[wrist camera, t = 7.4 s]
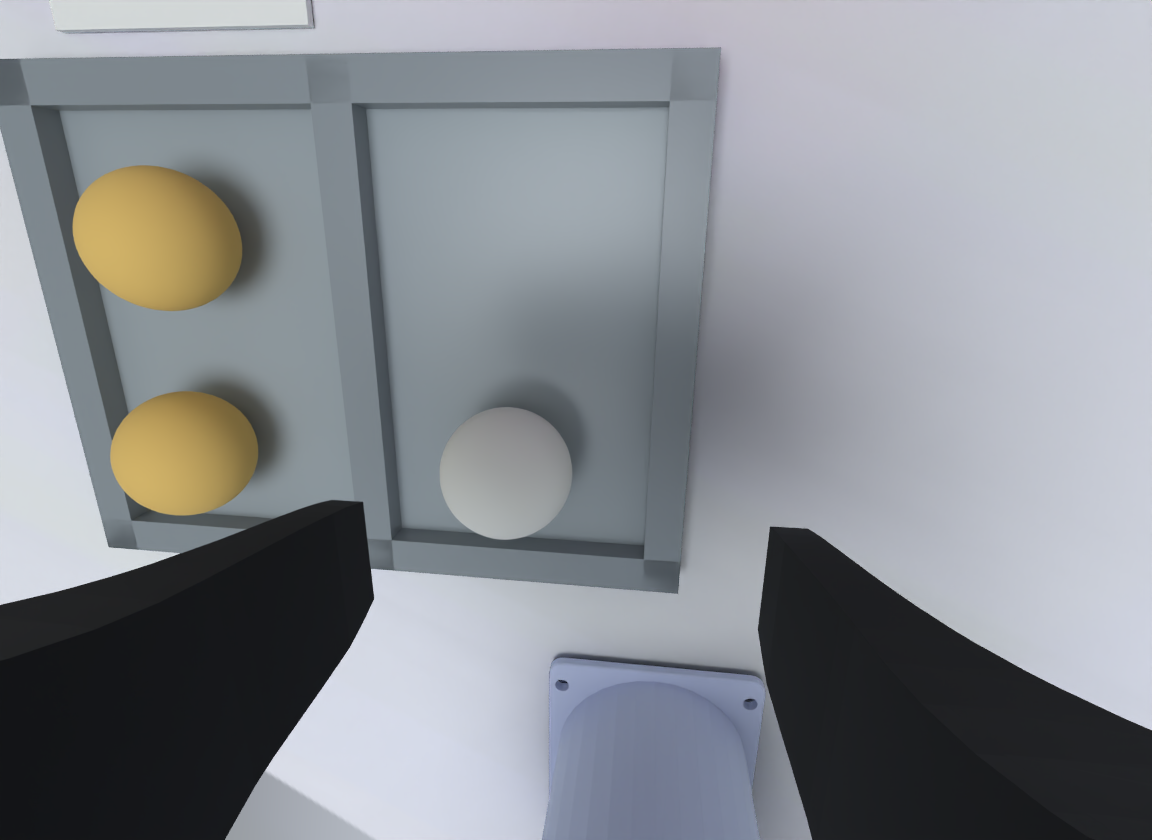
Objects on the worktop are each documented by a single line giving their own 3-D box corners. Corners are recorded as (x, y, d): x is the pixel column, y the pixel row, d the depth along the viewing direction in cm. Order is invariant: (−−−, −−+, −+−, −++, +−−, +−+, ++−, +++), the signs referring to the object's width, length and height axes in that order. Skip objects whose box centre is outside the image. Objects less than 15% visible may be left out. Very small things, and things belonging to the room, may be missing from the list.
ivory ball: (578, 506, 21) (562, 570, 17) (464, 499, 21) (424, 560, 17) (580, 394, 19) (563, 436, 16) (459, 389, 20) (414, 428, 16)
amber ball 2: (290, 487, 22) (213, 543, 18) (188, 480, 22) (93, 533, 18) (274, 380, 20) (188, 416, 17) (166, 375, 21) (59, 409, 17)
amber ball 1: (278, 304, 20) (191, 322, 16) (163, 301, 20) (52, 318, 16) (260, 172, 18) (162, 158, 15) (138, 171, 19) (12, 157, 15)
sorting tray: (676, 570, 21) (678, 593, 20) (138, 529, 24) (108, 547, 22) (715, 61, 16) (720, 47, 15) (29, 70, 19) (-18, 59, 17)
